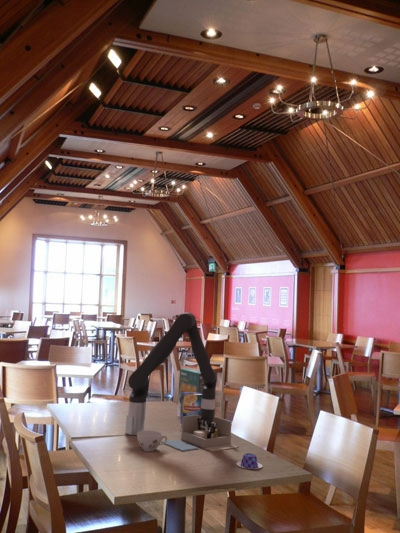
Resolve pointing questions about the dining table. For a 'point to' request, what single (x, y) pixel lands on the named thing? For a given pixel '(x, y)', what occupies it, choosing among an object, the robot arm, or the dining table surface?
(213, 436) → the block
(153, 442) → the teacup
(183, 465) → the dining table surface
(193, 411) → the beverage box
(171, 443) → the mat
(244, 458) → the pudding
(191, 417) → the carton
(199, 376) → the cake mix box
